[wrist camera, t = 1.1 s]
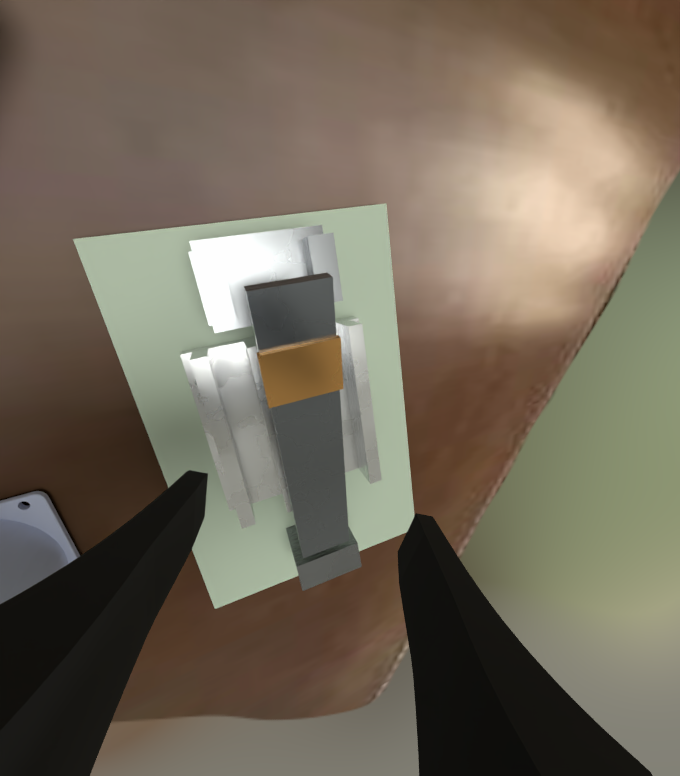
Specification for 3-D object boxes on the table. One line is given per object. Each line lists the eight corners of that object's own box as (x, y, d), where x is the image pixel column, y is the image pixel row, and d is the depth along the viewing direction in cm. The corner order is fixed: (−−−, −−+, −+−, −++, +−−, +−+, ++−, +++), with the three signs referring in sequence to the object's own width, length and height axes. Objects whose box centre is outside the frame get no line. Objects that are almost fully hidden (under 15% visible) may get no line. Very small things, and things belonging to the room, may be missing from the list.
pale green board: (215, 597, 25) (215, 608, 24) (80, 241, 17) (73, 239, 16) (409, 520, 29) (415, 528, 28) (378, 206, 21) (386, 203, 20)
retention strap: (299, 550, 21) (302, 562, 20) (240, 286, 12) (243, 294, 11) (347, 531, 22) (351, 542, 21) (329, 271, 12) (337, 278, 12)
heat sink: (229, 501, 22) (231, 532, 19) (181, 351, 18) (175, 362, 16) (371, 455, 25) (390, 476, 22) (352, 316, 21) (372, 321, 18)
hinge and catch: (276, 555, 24) (287, 606, 21) (191, 247, 17) (184, 238, 14) (356, 525, 26) (380, 567, 22) (308, 232, 19) (331, 220, 15)
